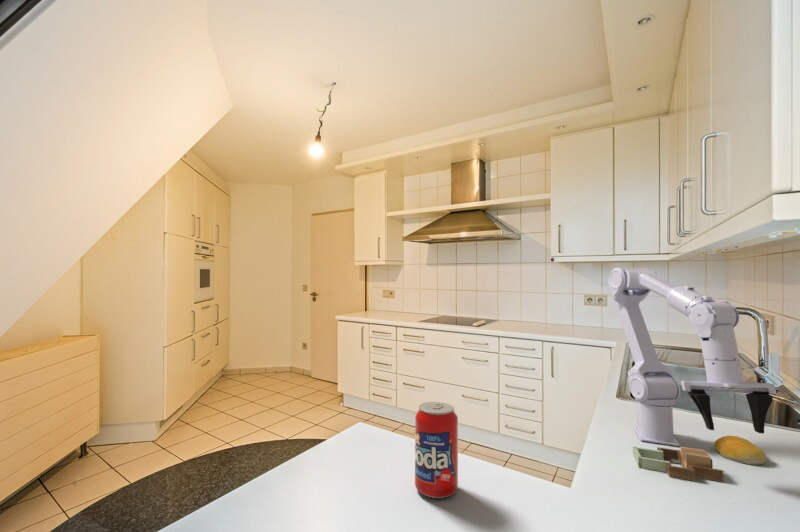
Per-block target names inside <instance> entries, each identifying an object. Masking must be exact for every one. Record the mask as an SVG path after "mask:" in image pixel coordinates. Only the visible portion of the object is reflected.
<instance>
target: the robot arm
mask: <svg viewBox="0 0 800 532" xmlns="http://www.w3.org/2000/svg"><path fill="white" fill-rule="evenodd" d="M607 283H608V286H609V290H610V293H611V296H612V299H613V301H614V303H615V307H616V310H617V313H618V317H619V319H620V323H621V326H622V328H623V331H624V332H623V333H624V335H625V338H626V341H627V344H628V347H629V350H630V353H631V356H632V359H633V361H634V365H633V366H632V367H631V368H630V370H629V371H627V375H628V379H629V385H628V387H629V391H630V393H631V394H632V397H633V398H634V400H635V401H637V426H636V425H635V426H633V429H634V431H635V432H636V435H637V438H638V439H639V440H640V441H643V442H648V443H655V444H661V445H669V446H675V447H680V443H679V441H678V440H677V439H676V438H675V435H674V413H673V405H676V401H677V400H678V399H679V398H680V396H681V391H684V392H687V394H688V395H689V397H690V399H691V401H693V403H694V404H695V406H696V407H697V409H698V411H699V413H700V415H701V417H702V419H703V422H704V424H705V427H706V429H707V430H709V431H715V425H714V420H713V417H712V411H711V410H712V409H711V396H710V395H708V393H707V392H709V393H712V392H714V393H739V394H741V393H742V394H745V398H746V400H747V404H748V406H749V409H750V414H751V420H752V425H753V429H754V432H756V433H758V434H765V425H766V424H765V423H766V418H767V414H768V411H769V408H770V407H771V404H772V403H773V395H777V391H776V390H777V389H776V386H775V383H770V382H752V381H751V382H750V381H745V379H744V374H743V368H742V364H741V360H740V358H741V357H740V354H739V348H738V344H737V337H736V332H735V329H734V328H735V327H737V326H738V324H739V322H740V314H739V311H738V309H737V307H736V306H734V304H732V303H731V302H729V301H728V300H727V301H726V300H725V301H724V300H723V301H716V300H714V299H713V297H712V296H710V295H705V294H702V293H700V292H698V291H696V290H695V287H694V286H692V285H679V286H676V285H674V283H671V282H670V281H668V280H666V279H665V278H664V277H662V276H660V275H658V273H657V271H655V270H652V269H651V268H648V267H644V268H638V267H637V268H631V267H630V268H629V267H628V268H627V267H626V268H624V267H623V268H622V267H614V268H613V269H612V270H611V271H610V274H609V277H608V279H607ZM650 292H653V293H655V294H656V295H659V296H661V297H663V298H665V299H666V303H667V304H668V306H669V307H671V308H672V309H674V310H676V311H677V312H679V313H680V314H683V315H684V316H685V317H687V318H688V320H689V323H690V324H691V326H692V327H694V329H695V334H696V335H697V336H698V338H699V340H700V346H701V351H702V358H703V362H704V363H703V365H704V369H705V374H706V375H705V376H706V380H681V381H680V382H681V385H680V384H679V381H678V380H677V378H676V377H675V376H674V375H673V373H672V370H671V368H670V367H668V366H666V365H665V364H663V363H662V362H661V361H659V360H660V359H659V358H658V354H657V351H656V349H655V347H654V344H653V340H652V338H651V335H650V333H649V329H648V328H647V325H646V322H645V318H644V316H643V313H642V310H641V307H640V303H641V302H643V301H644V300H645V299H646V298H647V296H648V295H649V293H650ZM724 388H725V389H724ZM681 389H682V390H681Z"/></svg>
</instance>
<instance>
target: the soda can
mask: <svg viewBox="0 0 800 532" xmlns="http://www.w3.org/2000/svg"><path fill="white" fill-rule="evenodd" d="M414 417H415V421H414V423H415V424H414V425H415V426H414V427H415V430H414V433H415V434H414V435H415V436H414V440H415V441H414V445H415V446H414V484H415V485H414V486H415V488H416V490H417V491H418V492H419V493H420V494H422V495H424V496H425V495H426V497H427V496H428V498H430V497H432V498H431V499H435V498H441V499H445V498H444V497H446V498H448V497H450V496H451V497H452V495H454V494H455V493H456V492H457V490H458V486H459V479H458V478H459V451H458V450H459V419H458V418H459V417H458V415H457V413H456V411H455V407H454V406H453V405H452V404H449V403H445V402H440V401H429V402H424V403H422V404H419V407H418V411H416V414H415V416H414Z"/></svg>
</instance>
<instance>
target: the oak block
mask: <svg viewBox="0 0 800 532" xmlns="http://www.w3.org/2000/svg"><path fill="white" fill-rule="evenodd" d="M679 447H680V451H681V464H680V467H683V468H687V464H688V465H694V466H700V467H706V468H711V459H712V457H711V456H710V455H709V454H708V453H707V452H706V451H705V450H704V449H701V448H693V447H687V446H679Z"/></svg>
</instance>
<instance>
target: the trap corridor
mask: <svg viewBox="0 0 800 532" xmlns="http://www.w3.org/2000/svg"><path fill="white" fill-rule="evenodd" d="M656 448H657V449H651V448H644V447H638V446H633V448H632V449H633V450H632V451H633V458H634V460H635V462H636V466H637V467H638V469H639V468H640V469H644V470H652V471H658V472H663V473H667V475H668V477H670V478H674V479H681V480H687V481H692V482H696V481H697V480H696V478H697V479H704V480H709V481H714V482H715V481H716V482H722V483H723V482H724V473H723V472H724V471H723V470H722V469H717V468H713V466H714V465H713V459H712V458H711V468H706V467H700V466H694V465H688V464H687V468H683V467H682V466H677V465H681V450H678V449H673V448H666V447H659V446H657V447H656ZM672 464H676V466H675V465H672Z"/></svg>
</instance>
